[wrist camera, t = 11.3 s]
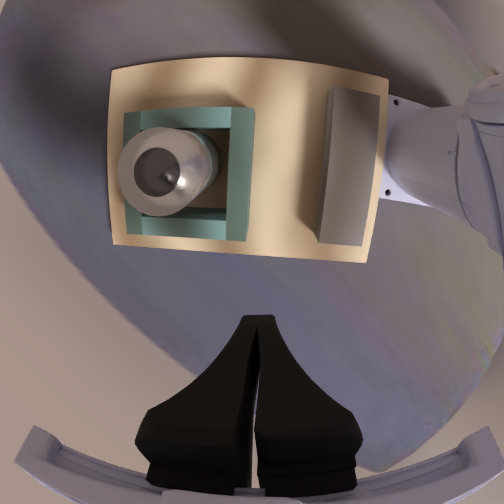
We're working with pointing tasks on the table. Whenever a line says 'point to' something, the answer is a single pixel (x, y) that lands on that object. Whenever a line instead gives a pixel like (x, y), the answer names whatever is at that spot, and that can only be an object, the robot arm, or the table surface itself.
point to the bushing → (167, 169)
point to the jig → (259, 155)
